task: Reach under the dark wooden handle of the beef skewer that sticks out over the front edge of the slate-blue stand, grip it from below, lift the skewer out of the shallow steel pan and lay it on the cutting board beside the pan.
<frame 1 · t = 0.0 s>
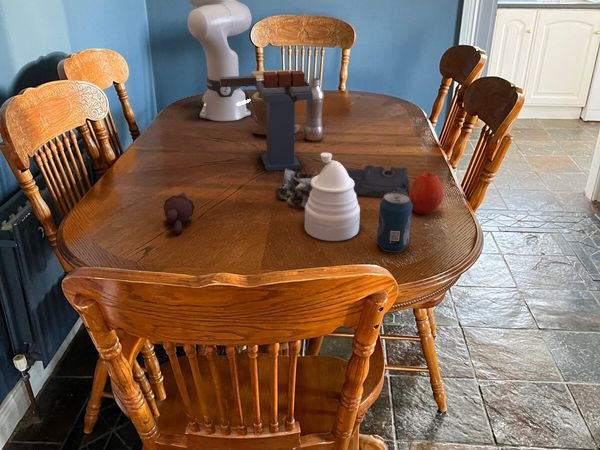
steel pan: (283, 88, 154), resting on stand
honey pot: (331, 228, 135), on the table
soda can: (391, 246, 127), on the table
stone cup: (273, 135, 193), on the table
beef skewer: (283, 86, 154), point 24 cm above the table, touching steel pan
cutting board: (276, 77, 164), resting on stand
stand: (280, 163, 170), on the table
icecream: (179, 222, 137), on the table
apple: (423, 211, 143), on the table
foil: (299, 199, 149), on the table
dark slate chunk: (367, 185, 157), on the table
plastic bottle: (313, 140, 189), on the table
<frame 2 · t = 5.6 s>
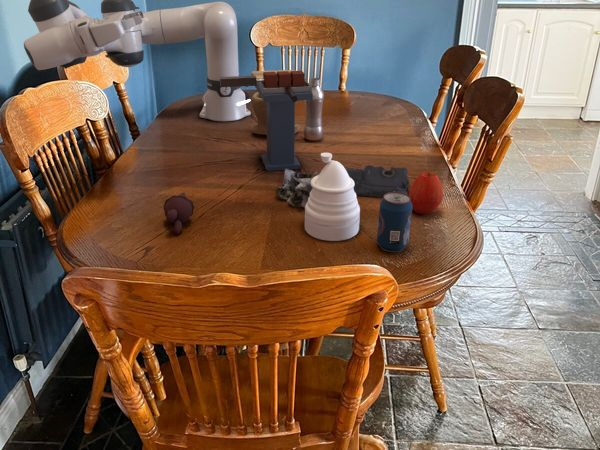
hand: (142, 16, 142), 42 cm above the table, tool pointing upward, fingers open, 8 cm apart
nothing on the table moved.
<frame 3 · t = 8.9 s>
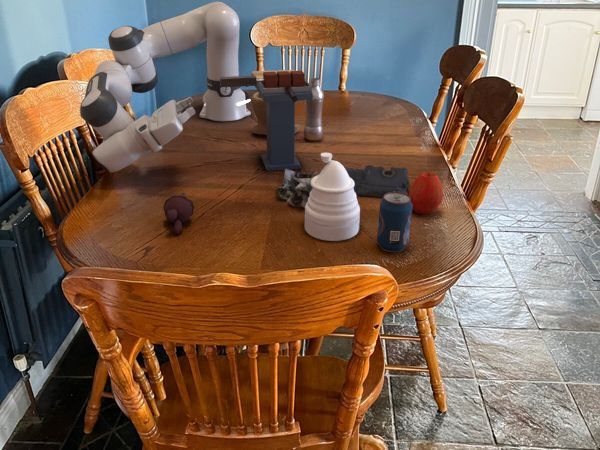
hand: (193, 104, 151), 21 cm above the table, tool pointing upward, fingers open, 8 cm apart
nothing on the table moved.
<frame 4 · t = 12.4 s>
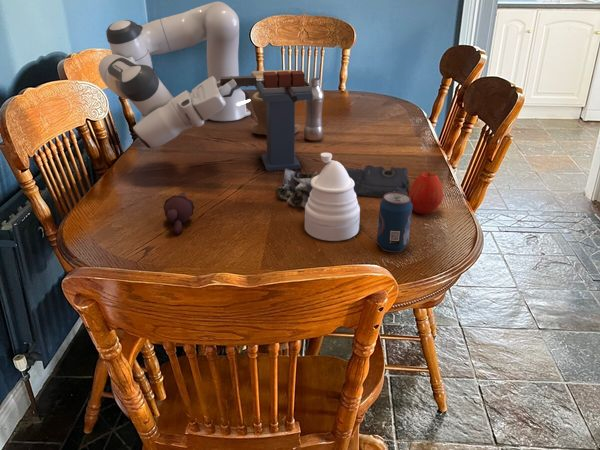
hand: (234, 79, 150), 27 cm above the table, tool pointing upward, fingers closed on beef skewer, 2 cm apart
beef skewer: (283, 86, 154), point 25 cm above the table, touching gripper, steel pan
everything else where it was.
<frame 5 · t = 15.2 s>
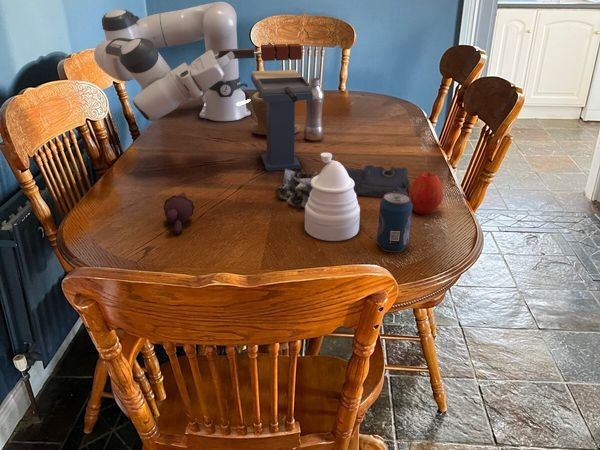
hand: (232, 52, 152), 33 cm above the table, tool pointing upward, fingers closed on beef skewer, 2 cm apart
beef skewer: (281, 58, 156), point 31 cm above the table, touching gripper
everything else where it was.
when the fingers open (27 cm above the table, at t = 18.0 s): beef skewer stays where it is, resting on cutting board.
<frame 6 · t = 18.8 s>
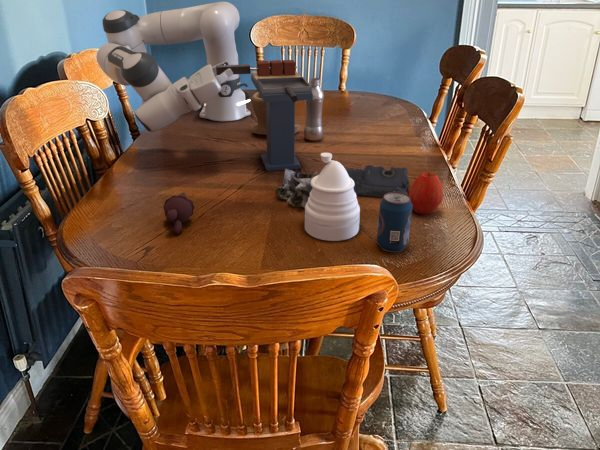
hand: (229, 66, 160), 28 cm above the table, tool pointing upward, fingers open, 8 cm apart
beef skewer: (276, 74, 163), point 25 cm above the table, touching cutting board
everything else where it was.
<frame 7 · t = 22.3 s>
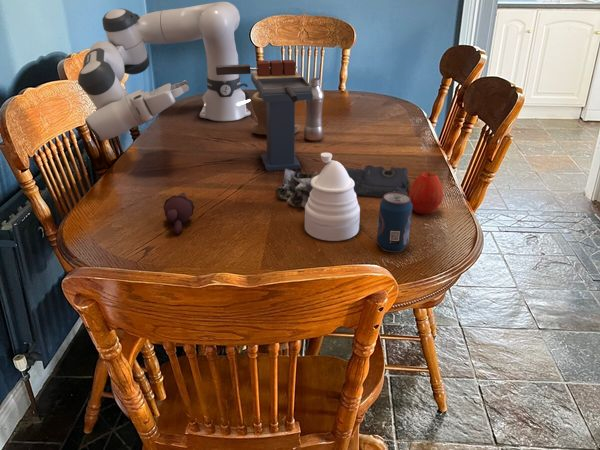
hand: (187, 84, 160), 23 cm above the table, tool pointing upward, fingers open, 8 cm apart
nothing on the table moved.
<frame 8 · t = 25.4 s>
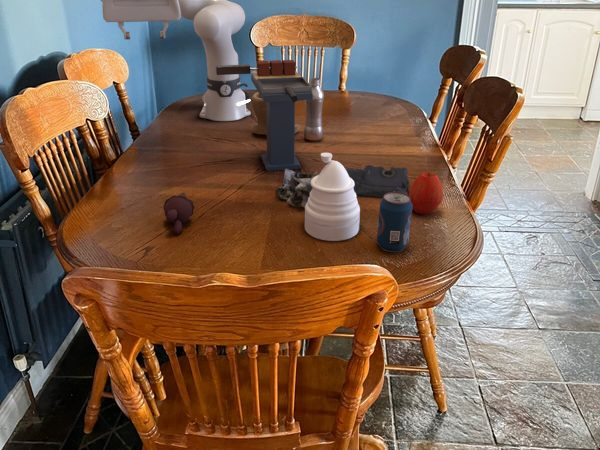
hand: (145, 38, 155), 35 cm above the table, tool pointing down, fingers open, 8 cm apart
nothing on the table moved.
at the end: beef skewer 0.1 cm from the target spot, point 25.0 cm above the table; beef skewer touching cutting board; beef skewer tilted 0° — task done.
